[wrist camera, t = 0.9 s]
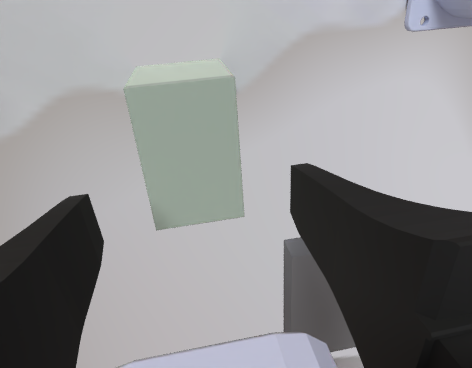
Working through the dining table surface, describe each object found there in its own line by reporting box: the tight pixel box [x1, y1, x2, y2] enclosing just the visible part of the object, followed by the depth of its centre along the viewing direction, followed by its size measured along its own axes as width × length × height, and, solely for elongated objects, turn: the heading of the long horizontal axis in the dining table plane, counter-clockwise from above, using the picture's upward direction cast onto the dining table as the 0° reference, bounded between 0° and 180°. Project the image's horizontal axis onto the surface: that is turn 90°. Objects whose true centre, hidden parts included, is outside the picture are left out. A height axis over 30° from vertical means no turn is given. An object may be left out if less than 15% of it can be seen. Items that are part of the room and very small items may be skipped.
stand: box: [284, 237, 356, 352], centre depth 28 cm, size 12×12×2 cm
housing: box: [124, 59, 244, 230], centre depth 17 cm, size 4×7×6 cm, turn 4°
